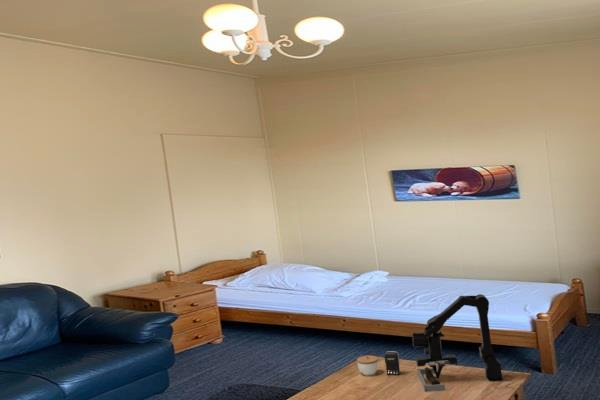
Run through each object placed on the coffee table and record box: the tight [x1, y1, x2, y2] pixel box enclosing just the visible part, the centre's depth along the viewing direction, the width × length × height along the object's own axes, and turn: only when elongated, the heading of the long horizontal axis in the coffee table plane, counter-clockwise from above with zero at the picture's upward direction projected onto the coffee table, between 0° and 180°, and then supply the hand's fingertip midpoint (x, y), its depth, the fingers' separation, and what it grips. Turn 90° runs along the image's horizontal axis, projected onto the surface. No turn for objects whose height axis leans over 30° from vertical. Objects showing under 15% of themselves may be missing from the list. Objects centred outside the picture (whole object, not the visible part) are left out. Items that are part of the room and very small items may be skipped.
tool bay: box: [417, 367, 446, 392], centre depth 281 cm, size 9×24×2 cm, turn 177°
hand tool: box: [424, 366, 441, 385], centre depth 281 cm, size 19×4×5 cm, turn 179°
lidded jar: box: [356, 354, 379, 377], centre depth 300 cm, size 11×11×9 cm
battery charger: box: [384, 350, 401, 376], centre depth 296 cm, size 7×4×11 cm, turn 70°
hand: (437, 378), depth 281 cm, fingers closed
